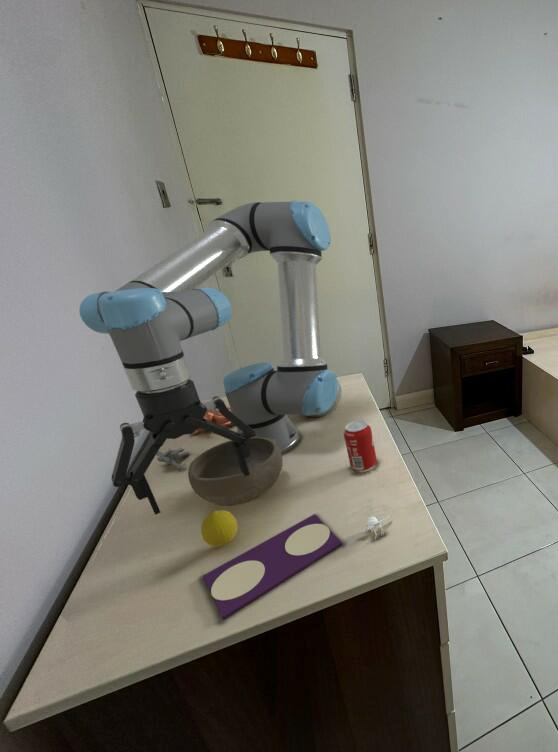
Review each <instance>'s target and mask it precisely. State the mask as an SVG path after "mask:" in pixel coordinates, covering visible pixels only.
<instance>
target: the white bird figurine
mask: <svg viewBox="0 0 558 752" xmlns="http://www.w3.org/2000/svg"><path fill="white" fill-rule="evenodd" d="M389 517H390V515H388V516H387V517H384V518H382V519H380V520H378V519H377V517H375V516H370V517H368V518H367V519H366V521H365V526H366V527H365V528H363V529H361V530H360V531H358V532H356V533H354V535H357V534H360V533H363V532H365V531H370V532H372V533H374V540H376V539H378V538H379V536H378V533H377V532H378V531H379V530H380V529H381V537H382V536H384V535H385V532H384V529H383V527H382V523H383V522H385V521H386V520H387V519H389Z"/></svg>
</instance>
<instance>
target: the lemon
mask: <svg viewBox="0 0 558 752" xmlns="http://www.w3.org/2000/svg"><path fill="white" fill-rule="evenodd" d="M237 532H238V522H237V519H236V518H235V516H234V515H233V514H232V513H231V512H230V511H227V510H223V509H219V510H215V511H212V512H210V513H208V514H207V515H206V516H205V518H204V519H203V520H202V522H201V526H200V533H201V536H202V539H203V541H204V542H205V543H206V544H207V545H209V546H212V547H222V546H226V545H228V544H229V543H230V542H231V541H233V540H234V539H235V538H236V536H237V534H238V533H237Z"/></svg>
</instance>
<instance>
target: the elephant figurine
mask: <svg viewBox="0 0 558 752" xmlns="http://www.w3.org/2000/svg"><path fill="white" fill-rule="evenodd" d="M190 453H191V451H190V450H186V451H185V447H184V446H182V447H179V448H177V449H171V448H170V447H168V448H167V450H166V451H164V452H162V451H160V449H159V450H158V452H157V454H156V455H155V456H158V457H157V458H156V461H158V462H160V463H162V462H163V463H164V464H167V465H169V464H170V465H172V466H174V467H176V469H177V470H180V471H183V470H184V466H183V465H184V464H183V463H181V464H179V463H178V462H176V461H177V460H178V459H180V458H182V457H187V456H189V455H190Z"/></svg>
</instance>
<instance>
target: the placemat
mask: <svg viewBox="0 0 558 752" xmlns="http://www.w3.org/2000/svg"><path fill="white" fill-rule="evenodd" d="M342 545H343V542H342V541H341V540H340V538H339V537H338V536H336V534H335V533H334V532H333V531H332V530H331V529H330V527H328V526H327V525H326V524H325V523H324V522H323V521H322V520H321V518H319V517H318V516H317V515H316V514H312V515H311V516H308V517H307V518H305V519H303V520H301V521H299V522H298V523H295V524H294V525H292V526H290V527H289V528H287V529H285V530H283V531H282V532H281V531H280V532H279V533H278V534H276V535H274V536H272V537H270V538H269V539H267V540H265V541H264V542H261V543H260V544H258V545H256V546H254V547H252V548H250V549H249V550H246V551H245V552H243V553H241V554H240V555H238V556H236V557H234V558H232V559H231V560H228V561H227V562H225V563H223V564H222V565H220V566H218V567H216V568H214V569H212V570H210V571H208V572H207V573H205V574H203V575H202V578H203V580H204V582H205V584H206V586H207V588H208V590H209V593H210V595H211V596H212V598H213V601H214V603H215V606H216V607H217V610H218V611H219V613H220V615H221V617H222V619H223V621H224V620H225V619H227V618H229V617H230V616H232V615H234V614H235V613H237V612H238V611H240V610H241V609H243V608H245V607H247V606H248V605H250V604H252V602H255V601H256V600H258V599H259V598H261V597H262V596H264V595H265V594H267V593H268V592H271V591H272V590H273V589H275V588H276V587H277V586H279V585H281V584H283V583H284V582H286V581H288V580H289V579H290V578H292V577H294V576H295V575H297V574H299V573H300V572H302V571H303V570H305V569H306V568H308V567H309V566H311V565H313V564H314V563H316V562H318V561H319V560H320V559H323V558H324V557H325V556H327V555H329V554H330V553H332V552H333V551H335V550H336V549H338V548H339V547H341V546H342Z"/></svg>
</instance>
